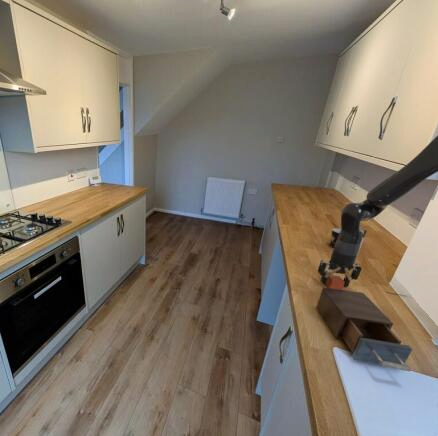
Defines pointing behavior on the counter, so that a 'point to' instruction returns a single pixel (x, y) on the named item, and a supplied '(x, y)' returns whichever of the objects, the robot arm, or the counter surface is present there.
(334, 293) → the cabinet
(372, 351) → the drawer
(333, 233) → the coffee mug
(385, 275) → the counter surface
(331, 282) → the block
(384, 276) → the counter surface
